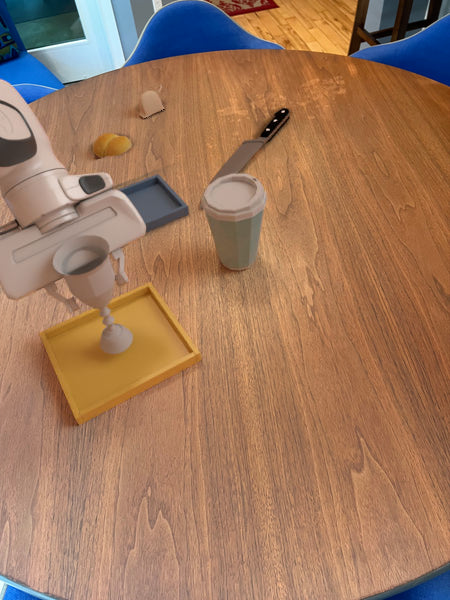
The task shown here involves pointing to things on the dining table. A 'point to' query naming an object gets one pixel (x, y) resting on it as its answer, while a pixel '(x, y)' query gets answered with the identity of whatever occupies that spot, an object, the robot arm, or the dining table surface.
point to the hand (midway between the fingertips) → (100, 297)
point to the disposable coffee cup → (235, 218)
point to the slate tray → (155, 201)
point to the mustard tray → (122, 366)
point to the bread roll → (111, 145)
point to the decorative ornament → (150, 102)
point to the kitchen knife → (253, 146)
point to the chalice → (94, 287)
